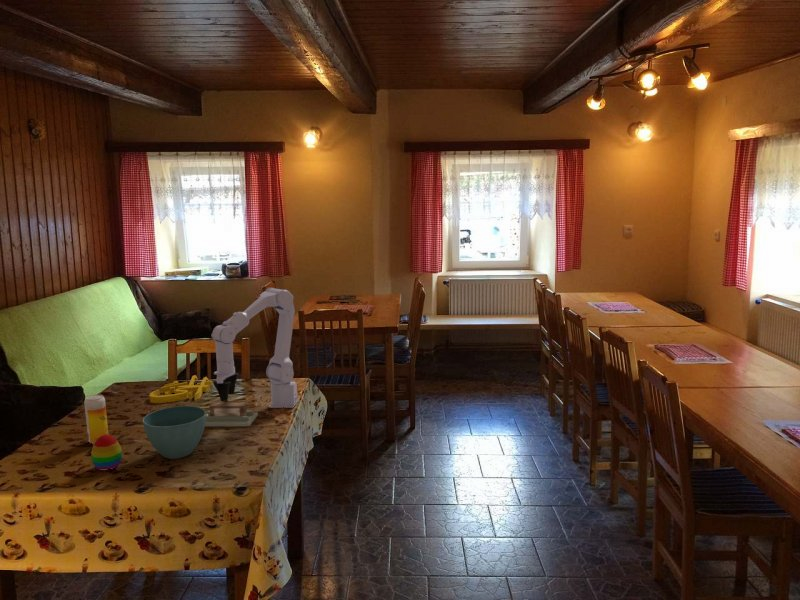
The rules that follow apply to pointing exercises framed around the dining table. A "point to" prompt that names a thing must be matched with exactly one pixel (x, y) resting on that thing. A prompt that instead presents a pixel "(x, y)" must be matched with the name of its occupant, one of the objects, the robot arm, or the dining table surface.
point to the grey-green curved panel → (231, 420)
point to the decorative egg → (106, 452)
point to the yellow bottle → (95, 417)
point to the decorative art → (180, 391)
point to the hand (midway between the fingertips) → (227, 397)
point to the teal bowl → (175, 430)
